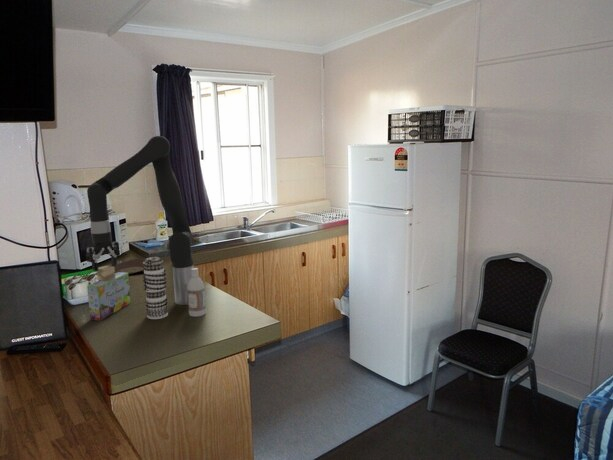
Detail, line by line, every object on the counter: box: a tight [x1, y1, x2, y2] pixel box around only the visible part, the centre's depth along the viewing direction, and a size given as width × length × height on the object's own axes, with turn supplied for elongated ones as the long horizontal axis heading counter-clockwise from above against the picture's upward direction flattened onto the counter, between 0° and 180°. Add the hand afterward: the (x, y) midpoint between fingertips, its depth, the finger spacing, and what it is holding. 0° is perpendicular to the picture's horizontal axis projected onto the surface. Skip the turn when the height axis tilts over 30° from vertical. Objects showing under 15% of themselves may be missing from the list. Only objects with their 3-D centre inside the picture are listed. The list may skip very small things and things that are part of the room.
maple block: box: [96, 265, 116, 281], centre depth 186 cm, size 5×5×5 cm
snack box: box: [86, 271, 131, 322], centre depth 189 cm, size 21×6×15 cm, turn 169°
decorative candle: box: [142, 256, 169, 320], centre depth 182 cm, size 9×9×25 cm
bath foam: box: [187, 267, 207, 317], centre depth 184 cm, size 7×7×20 cm
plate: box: [112, 257, 148, 275], centre depth 258 cm, size 28×28×4 cm
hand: (105, 268), depth 186 cm, fingers open, 8 cm apart
